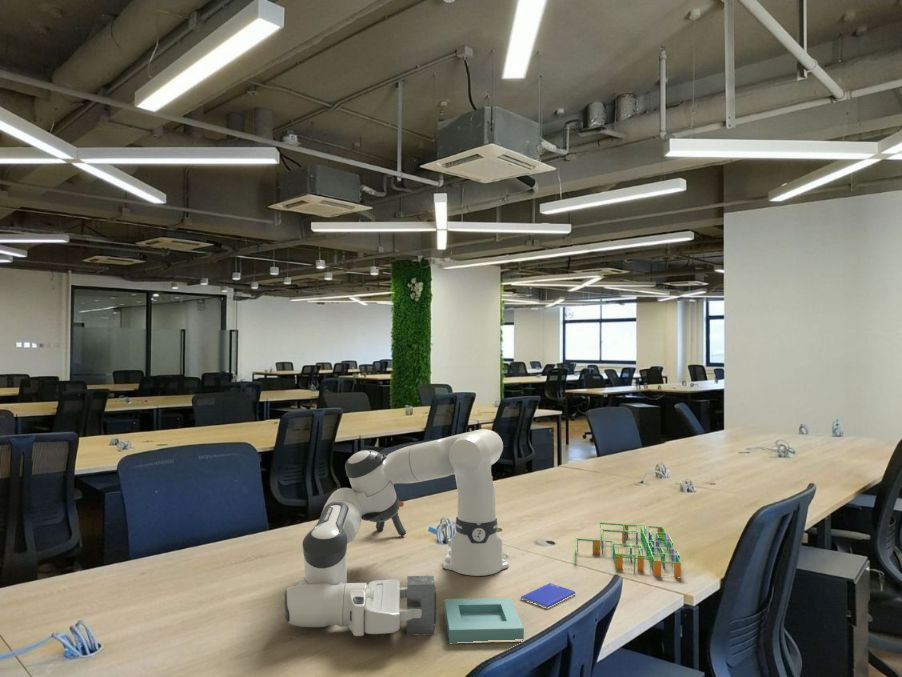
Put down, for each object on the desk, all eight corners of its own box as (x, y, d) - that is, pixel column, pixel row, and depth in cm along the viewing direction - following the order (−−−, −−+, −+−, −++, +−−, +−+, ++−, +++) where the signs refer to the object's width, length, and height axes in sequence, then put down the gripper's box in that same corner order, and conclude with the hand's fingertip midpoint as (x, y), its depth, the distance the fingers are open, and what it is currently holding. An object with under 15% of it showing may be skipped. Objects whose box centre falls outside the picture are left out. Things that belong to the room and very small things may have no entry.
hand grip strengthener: (402, 538, 201) (403, 492, 202) (375, 530, 209) (375, 487, 209) (407, 536, 203) (407, 491, 204) (379, 529, 211) (380, 485, 211)
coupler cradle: (444, 611, 145) (444, 599, 145) (510, 610, 147) (510, 597, 147) (449, 644, 129) (449, 629, 130) (523, 642, 131) (523, 628, 131)
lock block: (406, 624, 138) (407, 576, 138) (434, 624, 139) (435, 575, 139) (406, 635, 133) (407, 584, 133) (435, 634, 134) (436, 584, 134)
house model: (683, 580, 169) (684, 562, 169) (575, 571, 175) (575, 554, 175) (665, 541, 203) (665, 527, 203) (575, 535, 209) (575, 520, 209)
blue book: (549, 582, 162) (520, 595, 153) (575, 591, 156) (547, 605, 148) (549, 588, 162) (520, 602, 153) (575, 597, 156) (547, 612, 148)
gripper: (361, 599, 145) (419, 598, 146) (354, 640, 125) (422, 638, 126) (361, 572, 145) (419, 571, 146) (355, 609, 125) (422, 608, 126)
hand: (420, 603), depth 136 cm, fingers open, 8 cm apart
